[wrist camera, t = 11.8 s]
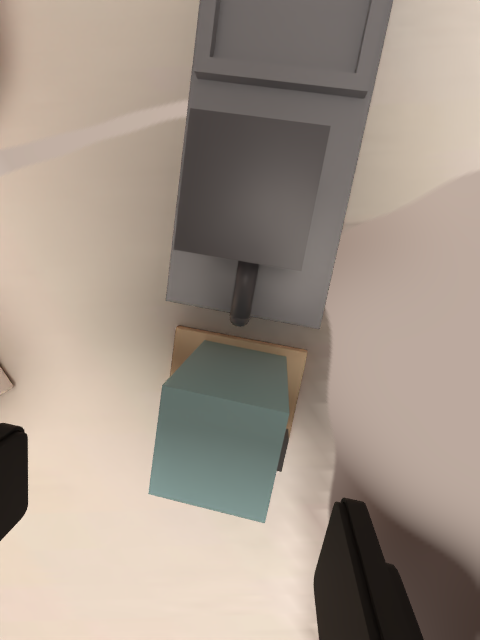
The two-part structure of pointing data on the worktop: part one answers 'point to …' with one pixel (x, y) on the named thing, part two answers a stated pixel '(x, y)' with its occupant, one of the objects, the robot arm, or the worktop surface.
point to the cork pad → (295, 357)
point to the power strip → (287, 89)
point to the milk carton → (4, 382)
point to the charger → (222, 430)
